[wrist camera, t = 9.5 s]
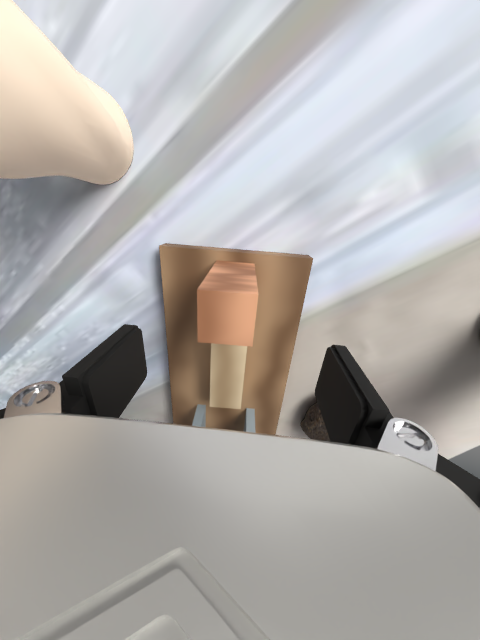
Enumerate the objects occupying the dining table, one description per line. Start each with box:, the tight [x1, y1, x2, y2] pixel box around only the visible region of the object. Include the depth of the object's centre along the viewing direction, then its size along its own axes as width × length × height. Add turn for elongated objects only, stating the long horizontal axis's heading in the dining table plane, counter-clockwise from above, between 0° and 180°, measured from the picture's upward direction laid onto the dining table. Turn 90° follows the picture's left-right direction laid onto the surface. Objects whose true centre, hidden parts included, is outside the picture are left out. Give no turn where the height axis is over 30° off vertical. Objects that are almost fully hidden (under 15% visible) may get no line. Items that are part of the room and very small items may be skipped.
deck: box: [159, 243, 313, 435], centre depth 32 cm, size 16×39×2 cm, turn 176°
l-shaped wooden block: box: [197, 260, 259, 409], centre depth 23 cm, size 4×18×10 cm, turn 176°
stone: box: [301, 403, 330, 442], centre depth 33 cm, size 10×8×10 cm
